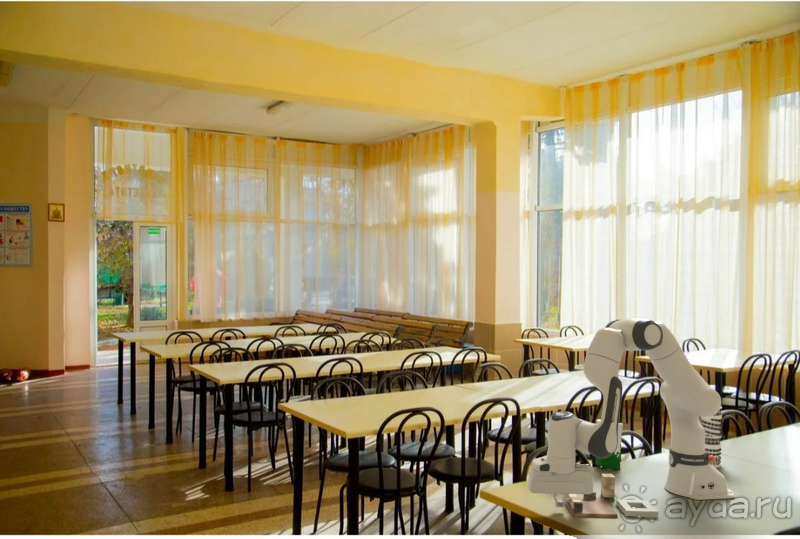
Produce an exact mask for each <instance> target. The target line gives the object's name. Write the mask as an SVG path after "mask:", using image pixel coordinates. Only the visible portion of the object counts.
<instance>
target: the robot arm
mask: <svg viewBox="0 0 800 539" xmlns="http://www.w3.org/2000/svg"><path fill="white" fill-rule="evenodd" d="M625 351H628V352H634V351H635V352H636V351H645V353H646V355H647V357H648V358H649V360H650V362H651V364H652V365H653V367H654V369H655V371H656V373H657V375H658V376H659V377H660V379H661V380H663V381H662V383H661V385H660V388H659V394H660V397H661V399H662V400H663V402H664V404H665V406H666V410H667V414H668V418H669V423H670V448H669V449H668V450H669V454H668V464H669V465H668V467H669V468H668V472H667V473H668V474H667V478H666V481H665V484H664V490H666V491H667V492H670V493H672V494H675V495H677V496H682V497H685V498H686V497H687V498H689V499H692V500H696V501H698V500H699V501H702V500H720V499H723V500H724V499H735V492H733V490H731V489H730V488H729V487H728V483H727V480H726V479H727V478H726V477H725V475H724V474H723V473H722V472H720V470H718V469H717V468H715V467H713V466H712V465H711V464H710V463H709V460H710V461H711V462H714V461H715V457H714V456H712V455H709V454H707V453H706V452H705V430H704V428H703V426H702V425H701V423H700V420H699V417H700V416H705V417H710V416H713V415H715V414H716V413H717V412H718V411H719V409H720V407H722V398H721V396H720V394H719V392H717V390H715V389H714V388H713V387H712V386H711V385H710V384H709V383H707V381H706V380H705V379H704V378H703V377H702V375H701V374H700V373H699V372H698V371H697V370H696V369H695V367H694V366H693V365H692V364H691V362H690V361H689V359H688V357H687V356H686V354H685V352H684V351H683V348H682V347H681V345H680V343H679V342H678V340H677V338H676V337H675V336H674V334H673V333H672V331H671V330H670V329H669V328H668V327H667V325H666V324H665V323H664V322H661V321H656V320H652V319H649V318H632V317H631V318H624V319H614V320H611V321H610V322H608V323H607V324H606V325H605V327H602V328H600V329H598V330H597V331H596V332H595V335H594V336H593V338H592V340H591V342H590V344H589V346H588V349H587V352H586V356H585V359H584V361H583V368H582V369H583V370H582V371H583V373H584V376H585V377H586V379H587V381H588V382H589V383H590V384H591V385H593V386H594V387H596V388H597V389H598V390H599V391H600V392H601V394H602V396H603V403H602V410H601V415H600V416H601V418H600V419H601V421H600V423H599V424H596V423H593V422H590V421H587V420H584V419H581V418H578V417H576V416H575V415H574V414H573V412H570V411H556V412H554V413H552V414H551V415H550V417H549V421H548V425H547V438H546V439H547V443H548V448H547V451H546V455H544V456H541V457H538V458H537V457H536V458H534V459H532V461H531V462H532V463H531V464H532V468H531V469H530V471H529V474H528V481H527V488H528V491H530V493H531V494H549V495H550V494H551V496H552V498H553V500H554V507H555V508H566V505H565V502H566V501H567V499H568V498H569V494H576V495H584V494H591V493H592V492H594V486H593V485H594V484H593V476H594V468H593V466H592V465H590V464H588V463H584V464H582V463H576V451H577V450H578V451H580V452H584V453H587V454H590V455H591V456H593V457H595V458H596V457H598V458H600V459H605V458H607V457H609V456H611V455H612V454H613V453H614V452H615V451H616V449H617V445H618V423H619V416H620V415H621V414H620V413H621V408H622V407H621V406H622V398H623V382H622V381H621V379H620V378H619V377H620V376H619V368H620V364H621V361H622V358H623V354H624V352H625ZM560 494H561V495H563V499H562V498H561V499H557V498H558V495H560ZM556 497H557V498H556Z"/></svg>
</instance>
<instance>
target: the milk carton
mask: <svg viewBox="0 0 800 539" xmlns="http://www.w3.org/2000/svg"><path fill="white" fill-rule="evenodd" d="M600 421H601V418H599V419H596V423H595V424H599V423H600ZM623 426H624V424H623V423H622V422H621V417H620V415H619V423H618V445H617V449H616V451H615V452H614V453H613V454H612V455H611V456H609V457H607V458H605V459H600V458H598V457H596V456H595V465H596V466H597V467H598V468H600V467H601V466H602V467H601V468H602V469H617V470H616V471H621V462H622V461H621V458H622V456H621V455H622V452H621V451H622V434H623ZM601 468H600V469H601ZM602 469H601V470H602Z"/></svg>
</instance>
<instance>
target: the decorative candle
mask: <svg viewBox="0 0 800 539" xmlns="http://www.w3.org/2000/svg"><path fill="white" fill-rule="evenodd" d="M722 409H723V407H722V406H721V407H720V409H719V411H718V412H717V413H716V414H715V415H713V416H710V417H705V416H698V417H699V420H700V423H701V425H702V426H703V428H704V430H705V452H706V453H707V454H709V455H712V456H714V457H715V461H714V462H711V461H710V460H709V463H710V464H711V465H712V466H713V467H715V468H716V469H717V468H720V467H721V463H722V460H721V459H722V457H721V454H722V452H721V451H722V448H721V446H722V445H721V438H722V435H723V434H722V431H723V430H724V429H723V428H722V427H723V426H724V424H723V422H724V420H723V415H722Z"/></svg>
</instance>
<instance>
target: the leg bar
mask: <svg viewBox="0 0 800 539" xmlns="http://www.w3.org/2000/svg"><path fill="white" fill-rule="evenodd" d="M579 498H580V497H578V494H569V498H568V503H569V504H570V505H571V507H572V508H573V510H574V511H576V512H583V503H582V502H581V501H580V499H579Z"/></svg>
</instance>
